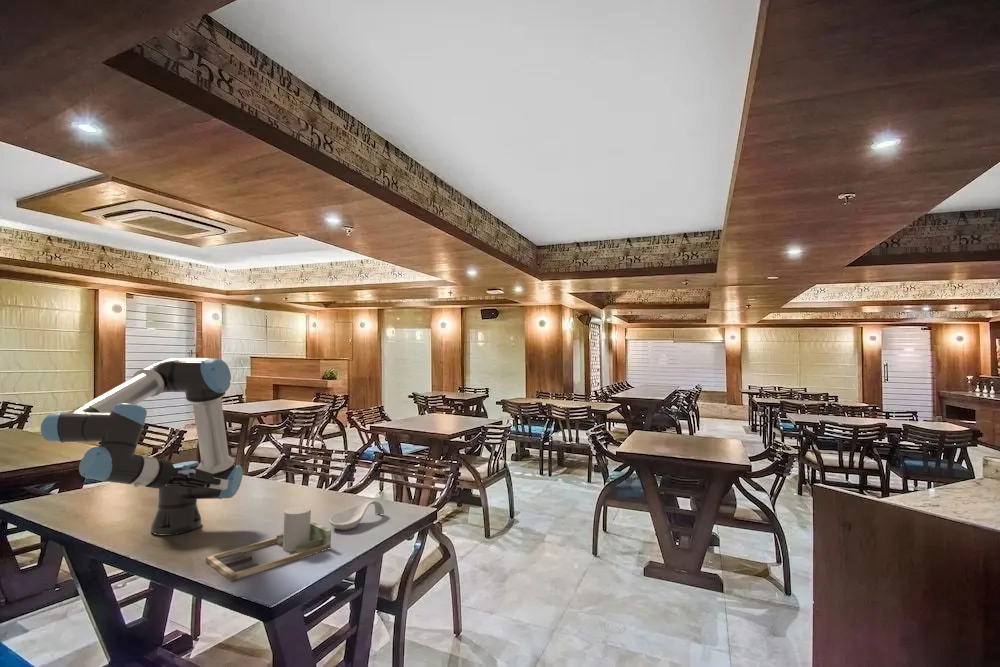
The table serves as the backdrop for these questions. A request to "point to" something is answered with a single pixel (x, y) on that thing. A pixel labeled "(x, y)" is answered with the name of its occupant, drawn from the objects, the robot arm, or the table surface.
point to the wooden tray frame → (241, 565)
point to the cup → (296, 527)
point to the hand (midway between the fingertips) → (226, 485)
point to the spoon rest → (353, 515)
